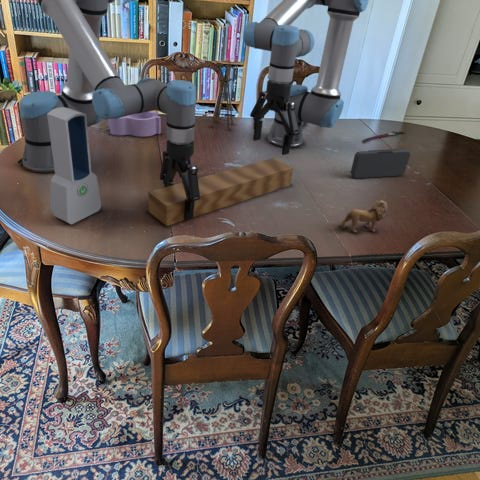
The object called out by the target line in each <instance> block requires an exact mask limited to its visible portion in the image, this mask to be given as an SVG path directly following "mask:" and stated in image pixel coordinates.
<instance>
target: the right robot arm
mask: <svg viewBox="0 0 480 480" xmlns="http://www.w3.org/2000/svg"><path fill="white" fill-rule="evenodd" d="M368 4H369V0H281V2H279V3H278V4H277V5H276V6H275V7H274V8H273V9H272V10H271V11H269V13H268V14H267V15H266V16H264V17H263V18H262V19H261V20H260V22H257V21H249V22H248V23H247V24H246V25H245V27H244V30H243V33H242V34H243V43H244V45H246V46H247V47H249V48H253V49H256V50H262V51H267V52H270V58H269V65H268V72H267V79H268V80H267V82H266V90H264V91H263V90H262V91H260V92H259V94H258V98H257V100H256V102H255V105H253V107H252V110H251V112H250V113H249V116H250V118H252V119H253V137H252V141H254V142H257V141H261V138H262V132H263V131H262V129H263V122H264V121H263V118H264V117H265V116H266V115H267V114H268V113H269V112H270V111H272V112H274V118H273V122H272V124H271V127H270V129H269V131H268V134H267V138H266V140H267V141H268V142H269V143H270V144H271V145H274V146H277V147H281V155H283V156H284V155H289V154H290V149H291V148H298V147H302V146H303V144H304V133H303V128H304V127H305V126H306V125H307V124H309V125H310V124H311V125H315V126H318V127H319V128H327V129H331V128H333V127H334V126H335V125H336V124H337V123H338V121H339V119H340V117H341V115H342V113H343V109H344V104H345V102H344V99H342V98H341V96H342V92H341V91H340V90H339V89H340V88H339V87H340V83H341V79H342V78H341V77H342V74H343V69H344V65H345V61H346V56H347V51H348V47H349V42H350V38H351V34H352V30H353V27H354V22H355V21H356V20H357V19H359V18H360V14H361V13H364V11H366V10H367V8H368V7H367V6H368ZM318 5H319V6H325V7H327V10H326V13H327V15H328V16H329V22H328V25H327V31H326V36H325V41H324V46H323V50H322V55H321V60H320V64H319V70H318V75H317V78H316V84H315V85H314V86H313V87H312V88H311V90H310V91H309V88H308V86H305V85H303V84H292V83H291V82H292V81H293V78H294V71H295V66H296V65H295V64H296V58H300V57H304V56H306V55H308V54H309V53H311V52H312V50H313V48H314V46H315V38H314V35H313V33H311V31H310V30H308V29H301V28H300V29H299V28H298V27H297V26H294V25H293V23H294V22H295V21H296V20H297V19H298V18H299V17H300V16H301V15H302V14H303V13H304V12H305V11H306V10H309V9H311V8H313V7H314V6H318ZM303 122H304V123H303Z"/></svg>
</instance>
